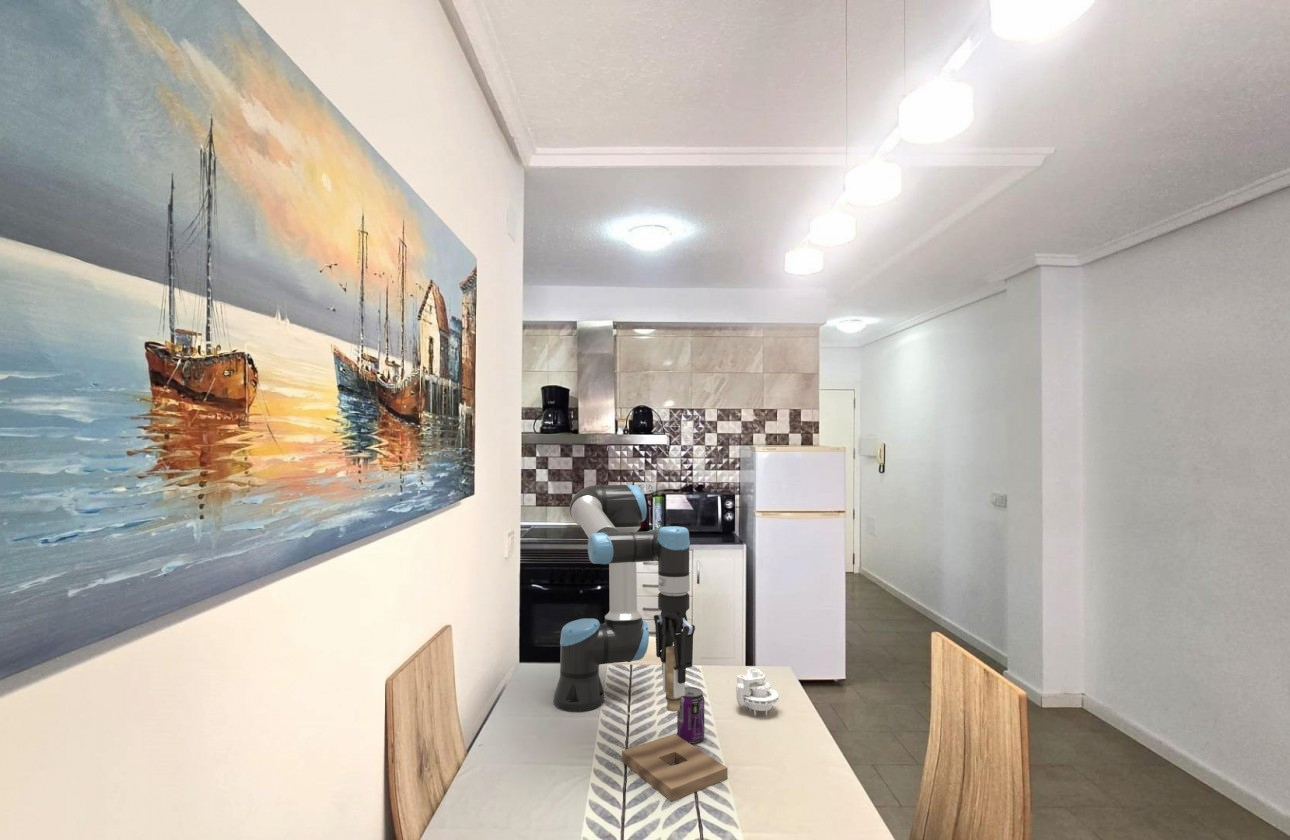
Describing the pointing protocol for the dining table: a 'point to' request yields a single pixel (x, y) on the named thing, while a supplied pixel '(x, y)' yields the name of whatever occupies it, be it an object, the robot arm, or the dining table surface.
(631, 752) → the board
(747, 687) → the mechanical part
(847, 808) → the dining table surface
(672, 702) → the peg
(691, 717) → the beverage can
